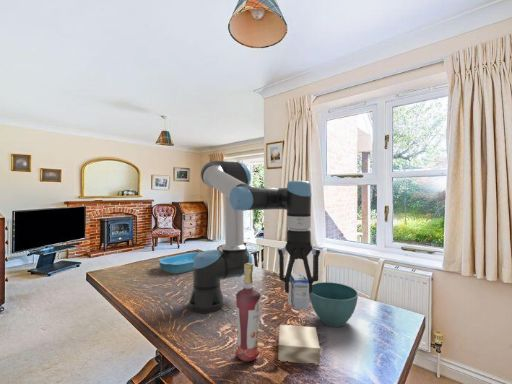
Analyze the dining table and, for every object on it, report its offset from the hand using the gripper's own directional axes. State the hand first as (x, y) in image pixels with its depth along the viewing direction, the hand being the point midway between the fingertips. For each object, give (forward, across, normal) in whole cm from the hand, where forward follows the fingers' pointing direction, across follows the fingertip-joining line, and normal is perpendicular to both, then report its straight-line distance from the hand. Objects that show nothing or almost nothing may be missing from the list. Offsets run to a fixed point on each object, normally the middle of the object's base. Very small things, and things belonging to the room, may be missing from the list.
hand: (298, 302), depth 81 cm
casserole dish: (+15, -62, +88) cm, 109 cm away
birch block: (+15, 0, 0) cm, 15 cm away
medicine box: (+1, 0, 0) cm, 1 cm away
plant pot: (+15, +16, +19) cm, 29 cm away
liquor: (+15, -16, -4) cm, 22 cm away
